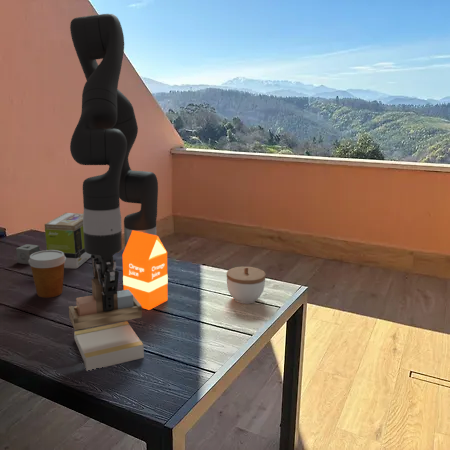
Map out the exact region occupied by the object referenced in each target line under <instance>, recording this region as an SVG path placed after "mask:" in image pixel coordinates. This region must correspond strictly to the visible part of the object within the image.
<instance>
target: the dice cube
mask: <svg viewBox="0 0 450 450" xmlns="http://www.w3.org/2000/svg"><path fill="white" fill-rule="evenodd" d="M15 251H16V262H17V263H18V264H22V265H29V266H30V264H29V262H28V260H29V259H30V255H31V254H33V253H35V252H39V251H41V250H40V245H36V244H29V243H26V244H24V245H21V246H19V247H16V249H15Z"/></svg>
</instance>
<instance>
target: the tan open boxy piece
mask: <svg viewBox="0 0 450 450" xmlns="http://www.w3.org/2000/svg"><path fill="white" fill-rule="evenodd" d="M102 280H105V278H102ZM110 288H111V287H109V288H108V289H110ZM101 292H102V289H101V284H99V283H98V279H94V278H91V293H92V295H93V297H94V299H95V300H96V306H97V313H96V314H91V315H85V316H80V317H79V316H78V314H77V305H74V306H73V305H69V306H68V314H69V315H68V316H69V321H70V322H71V325H72V328H73V329H74V331H80V330H85V329H90V328H95V327H100V326H105V325H110V324H115V323H120V322H125V321H129V320H134V319H135V320H136V319H140V318H142V317H143V310H142V309H143V308H142V306H141V304H140V303H139V302H138V301H137V299H136V298H135V297H134V296H133V305H134V307H129V308H123V309H118V297H117V294H114V310H112V311H107V312H105V311H104V310H103V302H102V293H101Z"/></svg>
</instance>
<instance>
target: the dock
mask: <svg viewBox="0 0 450 450" xmlns="http://www.w3.org/2000/svg"><path fill="white" fill-rule="evenodd" d="M73 334H74V335H73V337H74V342H75V343H76V346H77V348H78V350H79V353H80V355H81V358H82V360H83V362H82V364H83V366H84V368H86V369H85V371H86V372H89V371H88V370H90V371H93V370H92V369H94V370H97V369H96V368H99V369H101V368H102V367H103V368H107V367H111V366H115V365H118V364H123V363H128V362H131V361H135V360H140V359H143V358H145V352H144V351H145V350H144V347H145V346H144V343H143V342H142V340H141V339H140V338H139V337H138V335H137V334H136V332H135V331H134V329H133V328H132V326H131V325H130V323H129V322H128V320H125V321H120V322H115V323H110V324H105V325H100V326H95V327H90V328H85V329H79V330H74V331H73Z"/></svg>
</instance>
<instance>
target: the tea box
mask: <svg viewBox="0 0 450 450" xmlns="http://www.w3.org/2000/svg"><path fill="white" fill-rule="evenodd" d="M44 234H45V244H46V250H58V251H61V252H63V253H64V256H65V257H66V260H65V263H64V269H79V267H80V266H82V265H83V264H85V262H87V261H88V260H89V259H91V255H90V254H88V253H86V252H85V249H84V230H83V213H74V212H65V213H63V214H61V215H59V216H57V217H55V218H54V219H51V220H50V221H47V222H46V223H44Z"/></svg>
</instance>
